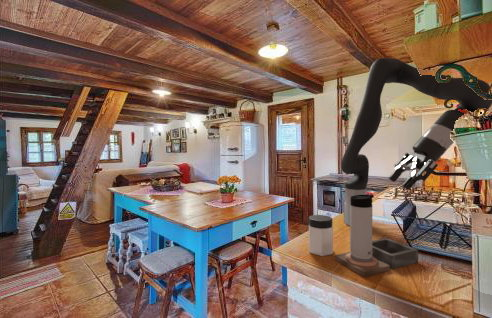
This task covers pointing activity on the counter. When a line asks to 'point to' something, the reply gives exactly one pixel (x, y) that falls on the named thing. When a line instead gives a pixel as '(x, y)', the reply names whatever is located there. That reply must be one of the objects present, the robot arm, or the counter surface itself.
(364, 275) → the mug dock
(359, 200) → the travel mug
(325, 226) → the jar
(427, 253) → the counter surface
